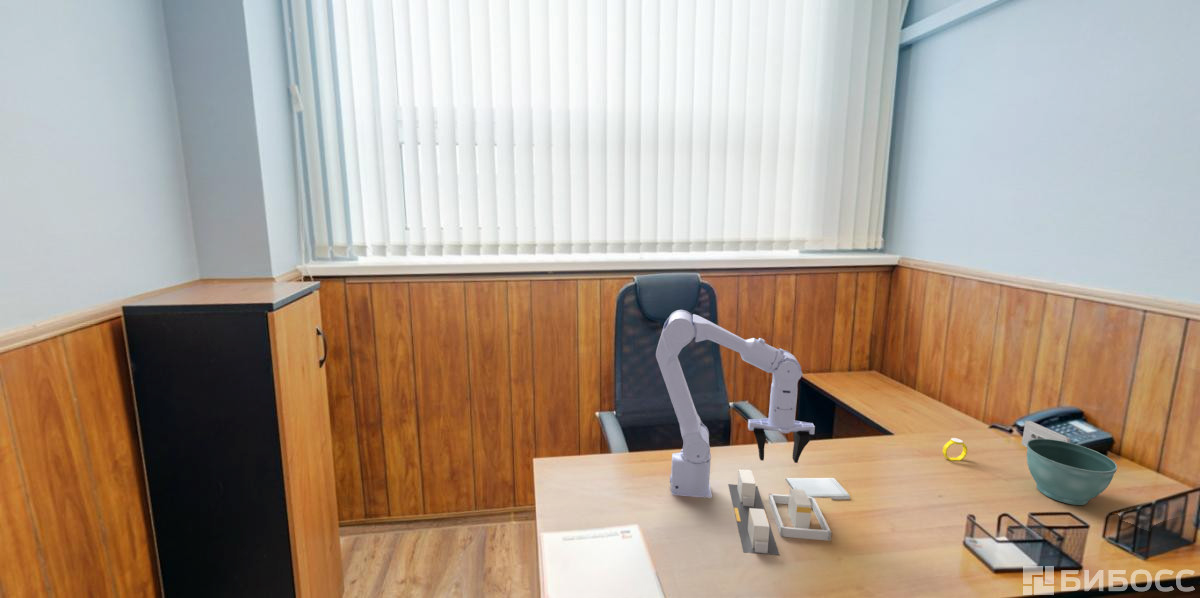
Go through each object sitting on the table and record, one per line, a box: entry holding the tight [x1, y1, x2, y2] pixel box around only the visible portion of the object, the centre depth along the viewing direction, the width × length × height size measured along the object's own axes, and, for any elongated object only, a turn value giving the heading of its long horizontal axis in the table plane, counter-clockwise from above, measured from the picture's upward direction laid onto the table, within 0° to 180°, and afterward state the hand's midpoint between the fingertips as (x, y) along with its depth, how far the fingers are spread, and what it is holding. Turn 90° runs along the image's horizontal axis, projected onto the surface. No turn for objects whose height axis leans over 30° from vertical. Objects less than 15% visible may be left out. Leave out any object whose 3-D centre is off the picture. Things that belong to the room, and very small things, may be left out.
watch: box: [942, 437, 968, 462], centre depth 142 cm, size 6×3×6 cm, turn 91°
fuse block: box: [727, 483, 781, 556], centre depth 115 cm, size 7×25×3 cm, turn 173°
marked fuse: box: [787, 488, 812, 529], centre depth 113 cm, size 3×6×6 cm, turn 174°
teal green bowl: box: [1026, 438, 1118, 506], centre depth 125 cm, size 16×16×11 cm
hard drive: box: [784, 477, 851, 500], centre depth 127 cm, size 2×8×12 cm
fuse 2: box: [748, 508, 771, 548], centre depth 107 cm, size 3×6×5 cm, turn 173°
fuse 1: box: [737, 469, 757, 502], centre depth 123 cm, size 3×6×5 cm, turn 173°
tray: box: [768, 493, 832, 542], centre depth 114 cm, size 10×13×2 cm
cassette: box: [1021, 420, 1071, 449], centre depth 146 cm, size 12×2×8 cm, turn 9°
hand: (778, 459), depth 122 cm, fingers open, 7 cm apart
